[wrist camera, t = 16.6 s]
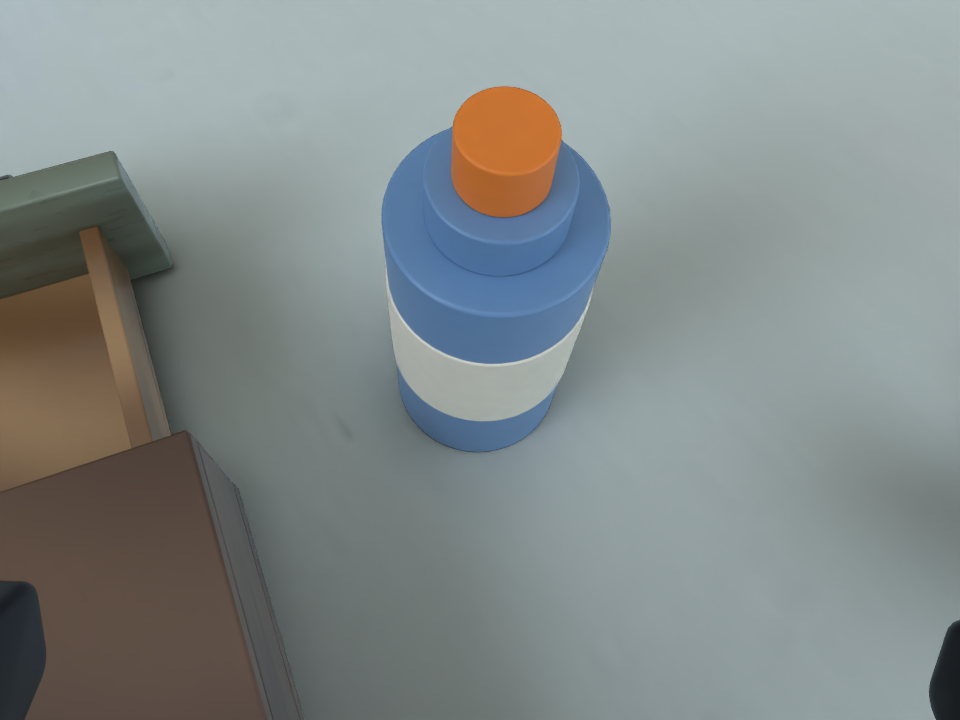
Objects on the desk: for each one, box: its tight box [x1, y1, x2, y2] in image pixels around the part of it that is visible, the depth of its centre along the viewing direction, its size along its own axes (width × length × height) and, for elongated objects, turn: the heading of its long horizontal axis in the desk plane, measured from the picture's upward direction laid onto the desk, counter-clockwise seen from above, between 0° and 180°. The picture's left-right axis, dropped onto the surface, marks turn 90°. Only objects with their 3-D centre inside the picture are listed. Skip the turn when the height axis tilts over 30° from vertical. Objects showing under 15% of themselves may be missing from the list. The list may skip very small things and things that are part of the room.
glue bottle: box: [382, 87, 611, 452], centre depth 19 cm, size 4×4×11 cm
